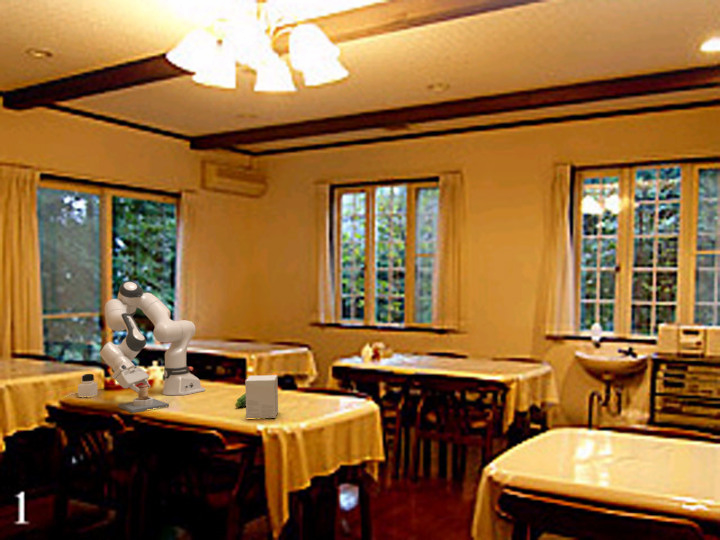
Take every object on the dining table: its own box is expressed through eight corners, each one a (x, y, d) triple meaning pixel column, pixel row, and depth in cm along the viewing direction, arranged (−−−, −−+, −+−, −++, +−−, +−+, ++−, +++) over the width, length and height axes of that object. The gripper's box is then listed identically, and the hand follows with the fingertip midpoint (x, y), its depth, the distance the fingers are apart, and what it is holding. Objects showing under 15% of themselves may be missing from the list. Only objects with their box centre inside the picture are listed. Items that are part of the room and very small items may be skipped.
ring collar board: (153, 401, 323) (153, 393, 323) (169, 406, 310) (168, 398, 310) (118, 407, 311) (117, 398, 311) (132, 413, 298) (132, 404, 298)
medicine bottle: (97, 395, 341) (97, 373, 341) (90, 398, 334) (90, 375, 334) (85, 395, 342) (84, 373, 342) (77, 398, 334) (77, 375, 334)
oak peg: (148, 402, 313) (148, 384, 313) (147, 404, 309) (147, 386, 309) (139, 403, 312) (138, 384, 312) (138, 405, 308) (137, 386, 308)
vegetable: (261, 384, 320) (238, 392, 302) (267, 397, 319) (245, 406, 301) (250, 390, 323) (227, 398, 305) (256, 403, 322) (233, 412, 304)
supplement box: (278, 412, 294) (278, 374, 294) (275, 419, 281) (274, 379, 281) (250, 413, 294) (249, 375, 294) (245, 420, 281) (244, 380, 281)
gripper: (132, 370, 323) (150, 389, 321) (109, 377, 303) (128, 398, 301) (140, 361, 322) (158, 381, 320) (118, 368, 302) (137, 389, 300)
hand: (144, 389), depth 310 cm, fingers open, 8 cm apart
